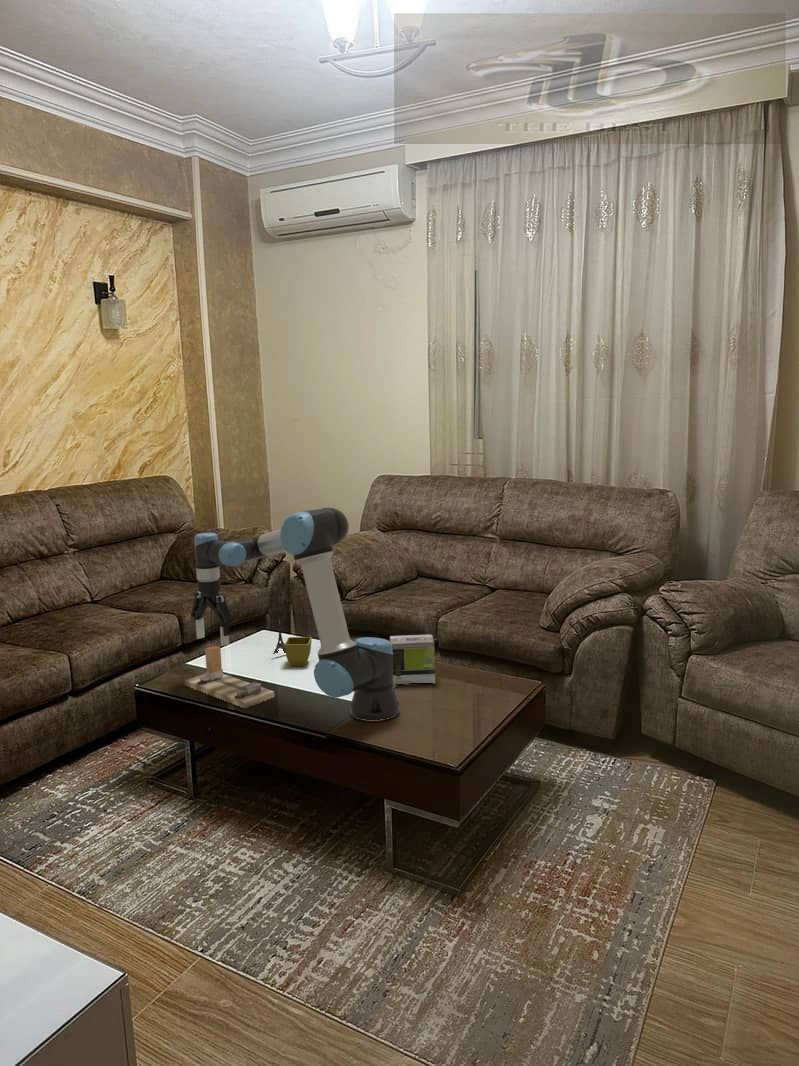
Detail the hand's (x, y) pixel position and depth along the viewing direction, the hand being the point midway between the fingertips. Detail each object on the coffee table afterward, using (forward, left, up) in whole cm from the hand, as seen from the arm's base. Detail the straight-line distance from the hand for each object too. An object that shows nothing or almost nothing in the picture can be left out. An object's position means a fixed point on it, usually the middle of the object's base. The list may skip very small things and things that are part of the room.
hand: (212, 641), depth 260 cm
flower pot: (-7, -32, -16) cm, 36 cm away
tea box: (-50, -45, -16) cm, 69 cm away
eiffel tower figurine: (+10, -37, -16) cm, 42 cm away
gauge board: (-9, +1, -15) cm, 18 cm away
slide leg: (0, +2, -13) cm, 13 cm away
